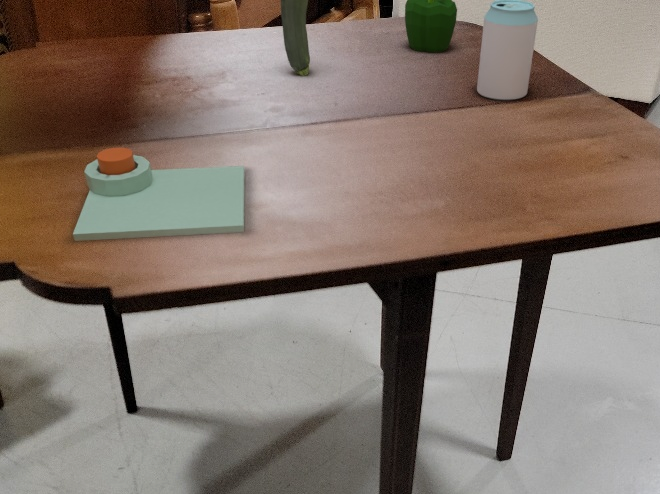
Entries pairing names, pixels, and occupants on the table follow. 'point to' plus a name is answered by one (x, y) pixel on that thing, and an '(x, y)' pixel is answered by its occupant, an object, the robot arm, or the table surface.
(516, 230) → the table surface
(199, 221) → the pale green flat block
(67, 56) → the table surface
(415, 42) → the bell pepper
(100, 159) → the button
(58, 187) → the table surface
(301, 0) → the vegetable
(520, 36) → the can
